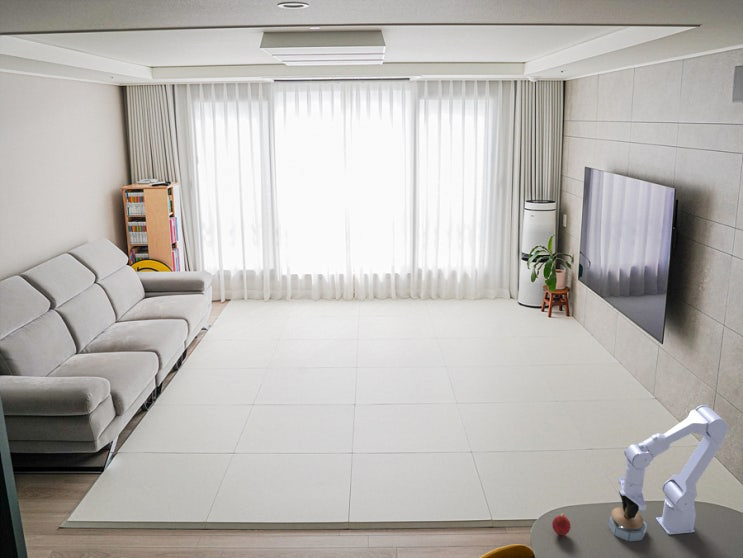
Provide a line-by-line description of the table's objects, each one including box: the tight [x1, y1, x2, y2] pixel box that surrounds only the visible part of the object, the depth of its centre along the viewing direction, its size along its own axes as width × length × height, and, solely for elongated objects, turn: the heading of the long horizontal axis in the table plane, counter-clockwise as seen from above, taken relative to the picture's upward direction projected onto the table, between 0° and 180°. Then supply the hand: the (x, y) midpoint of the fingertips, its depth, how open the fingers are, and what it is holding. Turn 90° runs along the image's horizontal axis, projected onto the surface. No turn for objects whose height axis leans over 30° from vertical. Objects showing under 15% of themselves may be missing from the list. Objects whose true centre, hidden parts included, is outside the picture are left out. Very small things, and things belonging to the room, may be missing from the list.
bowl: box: [608, 515, 648, 542], centre depth 217 cm, size 11×11×3 cm
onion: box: [551, 513, 571, 536], centre depth 214 cm, size 6×6×8 cm
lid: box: [610, 506, 645, 529], centre depth 216 cm, size 10×10×4 cm
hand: (629, 514), depth 216 cm, fingers closed on lid, 2 cm apart
